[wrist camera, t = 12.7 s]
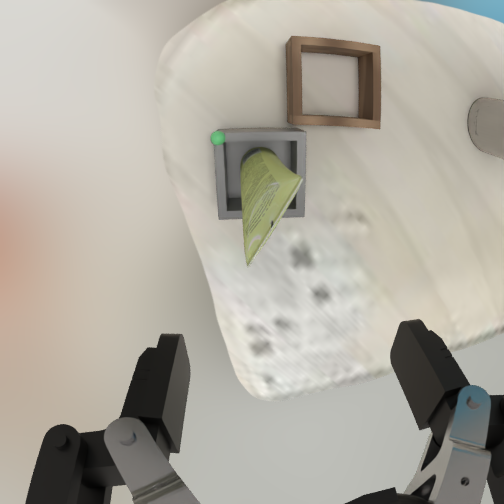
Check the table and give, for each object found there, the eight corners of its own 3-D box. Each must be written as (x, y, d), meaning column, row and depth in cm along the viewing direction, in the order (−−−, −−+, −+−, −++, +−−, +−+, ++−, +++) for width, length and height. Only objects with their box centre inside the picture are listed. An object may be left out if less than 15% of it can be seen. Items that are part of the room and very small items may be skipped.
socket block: (297, 125, 37) (307, 129, 30) (296, 201, 41) (305, 220, 35) (215, 127, 37) (209, 132, 30) (219, 203, 41) (215, 222, 35)
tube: (284, 184, 39) (316, 254, 22) (245, 192, 40) (246, 269, 22) (275, 142, 37) (303, 178, 19) (235, 150, 37) (226, 194, 20)
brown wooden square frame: (364, 51, 32) (380, 45, 27) (365, 125, 37) (380, 129, 32) (285, 44, 32) (291, 36, 27) (287, 121, 36) (293, 124, 32)
